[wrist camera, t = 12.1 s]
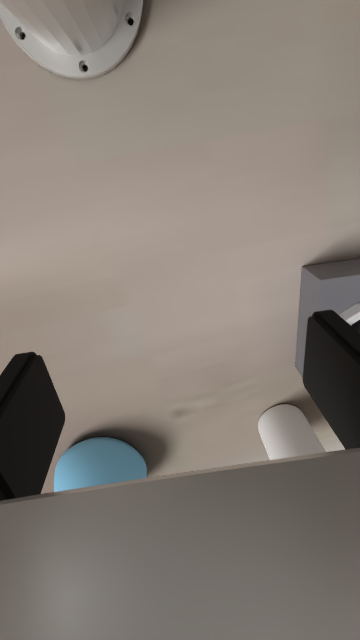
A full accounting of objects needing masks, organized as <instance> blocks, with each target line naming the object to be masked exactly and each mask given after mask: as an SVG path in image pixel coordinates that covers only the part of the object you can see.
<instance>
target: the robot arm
mask: <svg viewBox="0 0 360 640" xmlns="http://www.w3.org/2000/svg"><path fill="white" fill-rule="evenodd" d="M142 9H143V0H0V18H1V20H2V22H3V24H4V26H5V28H6V30H7V31H8V32H9V34H10V35H11V36H12V38H13V39H14V41H15V42H16V43H17V45H18V46H19V47H20V48H21V49H22V50H23V51H24V52H25V53H26V54H27V55H28V56H29V57H30V58H31V59H32V60H34V61H35V62H36V63H37V64H39V65H40V66H42V67H43V68H45V69H46V70H48V71H50V72H51V73H54V74H56V75H59V76H61V77H64V78H69V79H75V80H85V79H93V78H96V77H99V76H102V75H104V74H106V73H107V72H109V71H111V70H112V69H114V68H115V67H116V66H117V65H118V64H119V63H120V62H121V61H122V60H123V59H124V58H125V56H126V55H127V53H128V52H129V50H130V49H131V47H132V45H133V43H134V40H135V38H136V36H137V33H138V30H139V26H140V22H141V17H142ZM130 19H131V20H133V25H129V24H128V20H130ZM23 33H24V34H25V35H26V37H25V39H24V40H22V38H21V35H22V34H23ZM84 66H87V67H88V70H87V71H86V72H85V71H83V67H84ZM303 383H304V386H305V388H306V390H307V391H308V393H309V394H310V396H311V397H312V399H313V400H314V402H315V403H316V405H317V406H318V408H319V409H320V411H321V412H322V414H323V416H324V417H325V419H326V420H327V422H328V423H329V425H330V426H331V428H332V429H333V431H334V432H335V434H336V435H337V437H338V438H339V440H340V442H341V443H342V445H343V446H344V448H345V449H346V450H339V451H331V452H324V453H317V454H309V455H302V456H295V457H288V458H281V459H274V460H267V461H260V462H253V463H245V464H238V465H232V466H225V467H218V468H211V469H204V470H197V471H190V472H184V473H177V474H170V475H163V476H156V477H150V478H143V479H136V480H129V481H123V482H116V483H110V484H103V485H97V486H90V487H83V488H77V489H70V490H64V491H57V492H51V493H44V494H41V491H42V488H43V485H44V482H45V479H46V476H47V473H48V470H49V467H50V464H51V461H52V458H53V455H54V452H55V449H56V446H57V443H58V440H59V437H60V434H61V431H62V428H63V425H64V422H65V413H64V410H63V408H62V405H61V403H60V400H59V398H58V395H57V393H56V390H55V388H54V385H53V383H52V380H51V378H50V376H49V373H48V371H47V368H46V366H45V363H44V361H43V358H42V357H41V356H40V355H36V353H34V352H28V353H21V354H16V355H15V356H14V357H13V358H12V359H11V361H10V362H9V364H8V365H7V367H6V368H5V369H4V371H3V372H2V374H1V375H0V640H360V333H359V332H358V331H357V330H356V329H355V328H353V327H352V326H351V325H350V324H349V323H348V322H346V321H345V320H344V319H343V318H342V317H341V316H339V315H338V314H337V313H336V312H335V311H333V310H332V309H331V310H323V311H316V312H314V313H313V315H312V316H310V317H309V318H308V321H307V332H306V344H305V356H304V368H303Z"/></svg>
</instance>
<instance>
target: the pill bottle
mask: <svg viewBox="0 0 360 640" xmlns="http://www.w3.org/2000/svg"><path fill="white" fill-rule="evenodd" d="M258 429H259V433H260V436H261V438H262V441H263V443H264V446H265V449H266V451H267V454H268V456H269V459H270V460H274V459H281V458H288V457H295V456H302V455H309V454H317V453H324V452H326V451H325V449H324V448H323V446H322V444H321V443H320V441H319V439H318V438H317V436H316V434H315V433H314V431H313V429H312V428H311V426H310V424H309V422H308V421H307V419H306V417H305V416H304V414H303V413H302V412H301V410H300V409H298V408H297V407H295V406H293V405H288V404H282V405H277V406H274V407H272V408H270V409H268V410H267V411H265V412H264V413H263V414H262V416H261V417H260V419H259V422H258Z"/></svg>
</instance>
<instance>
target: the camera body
mask: <svg viewBox="0 0 360 640" xmlns="http://www.w3.org/2000/svg"><path fill="white" fill-rule="evenodd" d="M331 309H332V310H333V311H335V312H336V313H337V314H338V315H339V316H341V317H342V318H343V319H344V320H345V321H346V322H348V323H349V324H350V325H352V324H353V323H355V322H357V321H358V320H360V258H359V259H352V260H345V261H338V262H330V263H323V264H316V265H309V266H302V274H301V289H300V303H299V318H298V333H297V347H296V362H295V367H296V369H297V370H298V372H299V373H300V374H301V376H302V377H303V368H304V356H305V344H306V332H307V321H308V318H309V317H310V316H312V315H313V313H314V312H316V311H323V310H331Z"/></svg>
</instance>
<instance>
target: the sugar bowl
mask: <svg viewBox="0 0 360 640" xmlns="http://www.w3.org/2000/svg"><path fill="white" fill-rule="evenodd" d="M143 478H147V467H146V464H145V461H144V459H143V457H142V456H141V455H140V454H139V453H138V452H137V451H136V450H135V449H134V448H133V447H132V446H130V445H129V444H127V443H126V442H123V441H121V440H118V439H115V438H109V437H96V438H91V439H87V440H84V441H82V442H80V443H78V444H76V445H74V446H72V447H71V448H69V449H68V450H67V451H66V452H65V453H64V454H63V455H62V456H61V458H60V459H59V461H58V463H57V466H56V469H55V476H54V492H57V491H64V490H70V489H77V488H83V487H90V486H97V485H103V484H110V483H116V482H123V481H129V480H136V479H143Z"/></svg>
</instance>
